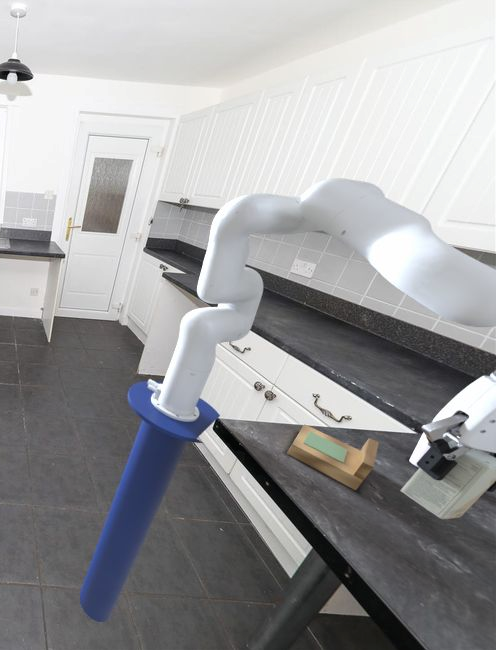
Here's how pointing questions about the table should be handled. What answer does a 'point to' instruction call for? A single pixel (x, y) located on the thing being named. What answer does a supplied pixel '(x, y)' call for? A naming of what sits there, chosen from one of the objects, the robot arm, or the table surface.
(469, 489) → the box
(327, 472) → the wooden sharpening stone holder
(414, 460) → the smoothie
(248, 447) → the table surface
